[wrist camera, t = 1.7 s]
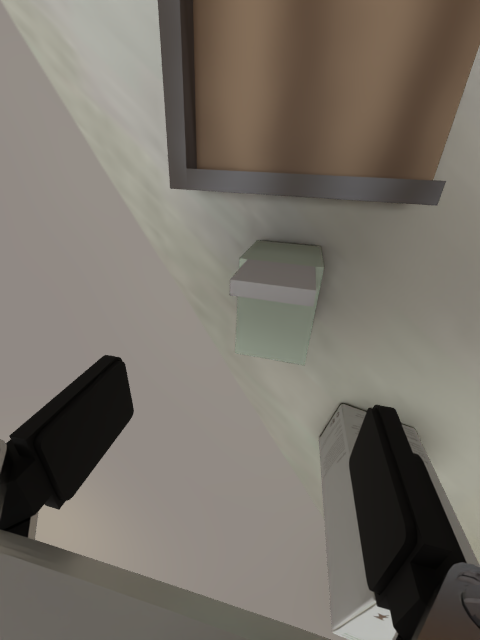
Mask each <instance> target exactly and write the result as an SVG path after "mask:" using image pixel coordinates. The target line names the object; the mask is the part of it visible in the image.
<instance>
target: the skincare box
mask: <svg viewBox="0 0 480 640" xmlns="http://www.w3.org/2000/svg"><path fill="white" fill-rule="evenodd" d="M365 415H366V412H365V411H362V410H359V409H357V408H353V407H351V406H348V405H345V404H341V405H340V406H339V408H338V410H337V411H336V413H335V414H334V416H333V418H332V419H331V421H330V422H329V424H328V426H327V427H326V429H325V431H324V432H323V434H322V435H321V437H320V438H319V448H320V463H321V477H322V493H323V507H324V521H325V535H326V551H327V566H328V579H329V592H330V610H331V624H332V633H334V634H336V635H339V636H341V637H344V638H346V639H349V640H392V639H393V637H394V635H395V633H396V630H395V629H394V627H393V623H392V618H391V613H390V610H387V609H384V608H381V607H377V604H376V598H375V592H372V591H370V590H369V588H368V585H367V580H366V574H365V567H364V561H363V554H362V548H361V542H360V535H359V529H358V522H357V516H356V509H355V503H354V496H353V490H352V483H351V477H350V470H349V458H350V455H351V452H352V450H353V447H354V444H355V442H356V439H357V436H358V434H359V431H360V428H361V426H362V423H363V420H364V418H365ZM402 427H403V429H404V432H405V434H406V437H407V439H408V442H409V444H410V447H411V449H412V452H413V453H415V454H418V455H419V456H420V457H421V458H422V460H423V462H424V464H425V466H426V468H427V471H428V473H429V475H430V478H431V480H432V482H433V485H434V487H435V489H436V492H437V494H438V496H439V499H440V501H441V503H442V506H443V508H444V511H445V513H446V515H447V518H448V520H449V522H450V525H451V527H452V529H453V532H454V534H455V536H456V539H457V541H458V543H459V546H460V548H461V550H462V553H463V555H464V557H465V560H466V562H467V563H469V564H473V565H476V566H478V567H480V565H479V563H478V561H477V559H476V557H475V555H474V553H473V550H472V548H471V546H470V544H469V542H468V540H467V538H466V535H465V533H464V531H463V529H462V527H461V525H460V523H459V521H458V519H457V516H456V514H455V512H454V510H453V508H452V506H451V504H450V502H449V500H448V497H447V495H446V493H445V491H444V489H443V487H442V485H441V483H440V481H439V479H438V476H437V474H436V472H435V470H434V468H433V466H432V464H431V461H430V459H429V457H428V455H427V453H426V451H425V449H424V447H423V444H422V442H421V440H420V438H419V436H418V434H417V432H416V430H415V429H414V428H411V427H408V426H406V425H403V424H402Z"/></svg>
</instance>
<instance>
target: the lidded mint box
mask: <svg viewBox="0 0 480 640" xmlns="http://www.w3.org/2000/svg"><path fill="white" fill-rule="evenodd" d="M323 271H324V264H323V257H322V251H321V246H313V245H300V244H290V243H279V242H272V241H261V240H260V241H259V240H257V241H256V242H255V243H254V244H253V245H252V246H251V247H250V248H249V249H248V250H247V251H246V252H245V253H244V254H243V255H242V256H241V257H240V261H239V270H238V271H237V272H236V273H235V275H234V276H233V277H232V278H231V279H230V295H231V296H238V302H237V323H236V344H235V353H237V354H243V355H248V356H254V357H259V358H265V359H271V360H276V361H282V362H287V363H293V364H298V365H305V360H306V355H307V350H308V345H309V340H310V335H311V330H312V325H313V320H314V315H315V310H316V305H317V300H318V296H319V291H320V286H321V281H322V276H323Z"/></svg>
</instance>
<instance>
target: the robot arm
mask: <svg viewBox="0 0 480 640" xmlns="http://www.w3.org/2000/svg"><path fill="white" fill-rule="evenodd" d="M133 412H134V410H133V403H132V398H131V393H130V388H129V383H128V377H127V372H126V367H125V363H124V362H122V359H121V358H119V357H115V356H108V355H105V356H103V357H102V358H101V359H99V360H98V361H97V362H96V363H95V364H93V365H92V366H91V367H90V368H89V369H88V370H86V371H85V372H84V373H83V374H82V375H80V376H79V377H78V378H77V379H76V380H75V381H73V382H72V383H71V384H70V385H69V386H68V387H66V388H65V389H64V390H63V391H62V392H60V393H59V394H58V395H57V396H56V397H55V398H53V399H52V400H51V401H50V402H49V403H47V404H46V405H45V406H44V407H43V408H42V409H40V410H39V411H38V412H37V413H36V414H35V415H33V416H32V417H31V418H30V419H29V420H27V421H26V422H25V423H24V424H23V425H21V426H20V427H19V428H18V429H17V430H16V431H15V432H13V433H12V434H11V435H10V438H11V440H10V441H9V442H7V443H5V442H4V441H3V440H1V439H0V640H331V639H328V638H325V637H322V636H319V635H317V634H314V633H311V632H308V631H306V630H303V629H300V628H297V627H294V626H291V625H289V624H286V623H283V622H280V621H277V620H274V619H271V618H268V617H265V616H262V615H259V614H256V613H253V612H250V611H247V610H244V609H241V608H238V607H235V606H232V605H229V604H227V603H224V602H221V601H218V600H214V599H212V598H209V597H206V596H203V595H200V594H197V593H194V592H191V591H188V590H185V589H182V588H179V587H176V586H173V585H170V584H167V583H164V582H161V581H158V580H155V579H152V578H149V577H146V576H143V575H140V574H137V573H134V572H131V571H128V570H125V569H122V568H119V567H116V566H113V565H110V564H107V563H104V562H101V561H98V560H94V559H92V558H89V557H86V556H82V555H79V554H76V553H73V552H70V551H67V550H64V549H61V548H58V547H55V546H52V545H49V544H46V543H43V542H40V541H37V540H35V533H36V526H37V518H38V511H39V510H40V509H41V507H42V506H43V505H44V504H45V505H46V506H49V507H53V508H56V509H60V508H61V506H62V505H63V504H64V502H65V501H66V500H69V499H71V498H72V497H73V496H74V494H75V493H76V491H77V490H78V489H79V487H80V486H81V485H82V483H83V482H84V481H85V480H86V478H87V477H88V476H89V474H90V473H91V472H92V470H93V469H94V468H95V466H96V465H97V464H98V462H99V461H100V459H101V458H102V457H103V455H104V454H105V453H106V452H107V450H108V449H109V448H110V446H111V445H112V443H113V442H114V441H115V439H116V438H117V436H118V435H119V434H120V433H121V431H122V430H123V429H124V427H125V426H126V425H127V423H128V422H129V421H130V419H131V418H132V415H133ZM349 470H350V477H351V483H352V490H353V496H354V503H355V509H356V516H357V522H358V529H359V535H360V542H361V548H362V554H363V561H364V567H365V574H366V580H367V585H368V588H369V590H370V591H372V592H375V598H376V604H377V607H381V608H384V609H387V610H390V613H391V618H392V623H393V627H394V629H395V630H396V633H395V635H394V637H393V639H392V640H480V567H478V566H476V565H473V564H469V563H467V562H466V560H465V557H464V555H463V553H462V550H461V548H460V546H459V543H458V541H457V539H456V536H455V534H454V532H453V529H452V527H451V525H450V522H449V520H448V518H447V515H446V513H445V511H444V508H443V506H442V503H441V501H440V499H439V496H438V494H437V492H436V489H435V487H434V485H433V482H432V480H431V478H430V475H429V473H428V471H427V468H426V466H425V464H424V462H423V460H422V458H421V457H420V456H419V455H418V454H415V453H413V452H412V449H411V447H410V444H409V442H408V439H407V437H406V434H405V432H404V429H403V427H402V424H401V422H400V419H399V417H398V414H397V412H396V410H395V409H394V408H391V407H385V406H380V405H375V406H374V407H373V408H368V410H367V412H366V415H365V418H364V420H363V423H362V426H361V428H360V431H359V434H358V436H357V439H356V442H355V444H354V447H353V450H352V452H351V455H350V458H349Z"/></svg>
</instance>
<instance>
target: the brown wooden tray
mask: <svg viewBox="0 0 480 640" xmlns="http://www.w3.org/2000/svg"><path fill="white" fill-rule="evenodd" d="M158 10H159V25H160V40H161V55H162V71H163V86H164V101H165V116H166V131H167V146H168V161H169V176H170V188H171V189H187V190H202V191H218V192H234V193H249V194H265V195H281V196H296V197H312V198H328V199H343V200H359V201H375V202H390V203H406V204H422V205H437V204H438V202H439V199H440V196H441V193H442V191H443V188H444V185H445V182H446V181H435V180H433V179H434V176H435V173H436V170H437V167H438V164H439V161H440V158H441V155H442V153H443V150H444V147H445V144H446V141H447V138H448V135H449V132H450V129H451V126H452V123H453V121H454V118H455V115H456V112H457V109H458V106H459V103H460V100H461V97H462V94H463V91H464V88H465V86H466V83H467V80H468V77H469V74H470V71H471V68H472V65H473V62H474V59H475V56H476V53H477V51H478V48H479V45H480V0H158Z"/></svg>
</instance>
